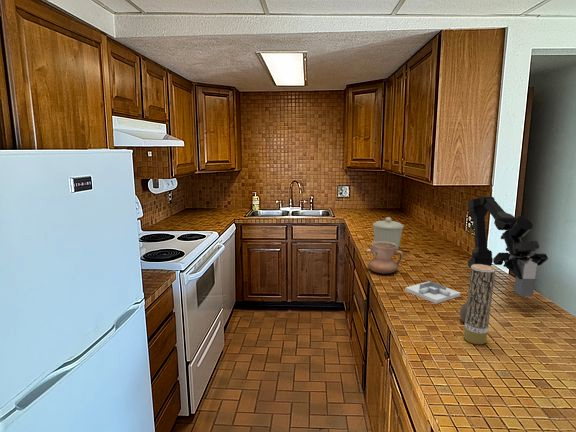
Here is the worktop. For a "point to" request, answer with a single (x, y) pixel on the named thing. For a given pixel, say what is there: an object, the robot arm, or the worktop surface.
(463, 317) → the vase
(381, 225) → the canister
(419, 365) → the worktop surface
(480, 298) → the bark covered log
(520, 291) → the silver metal block
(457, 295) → the plate
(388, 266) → the ceramic jug
